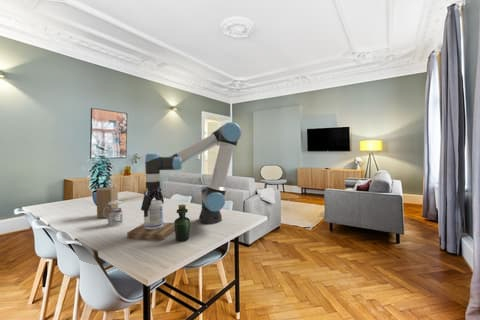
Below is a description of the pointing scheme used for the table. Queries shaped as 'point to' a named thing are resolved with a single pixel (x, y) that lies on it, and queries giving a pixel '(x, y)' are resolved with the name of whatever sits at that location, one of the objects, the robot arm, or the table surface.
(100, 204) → the block
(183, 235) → the potion bottle
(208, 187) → the robot arm
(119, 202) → the french press
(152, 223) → the supplement tub
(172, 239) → the table surface
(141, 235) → the walnut base
